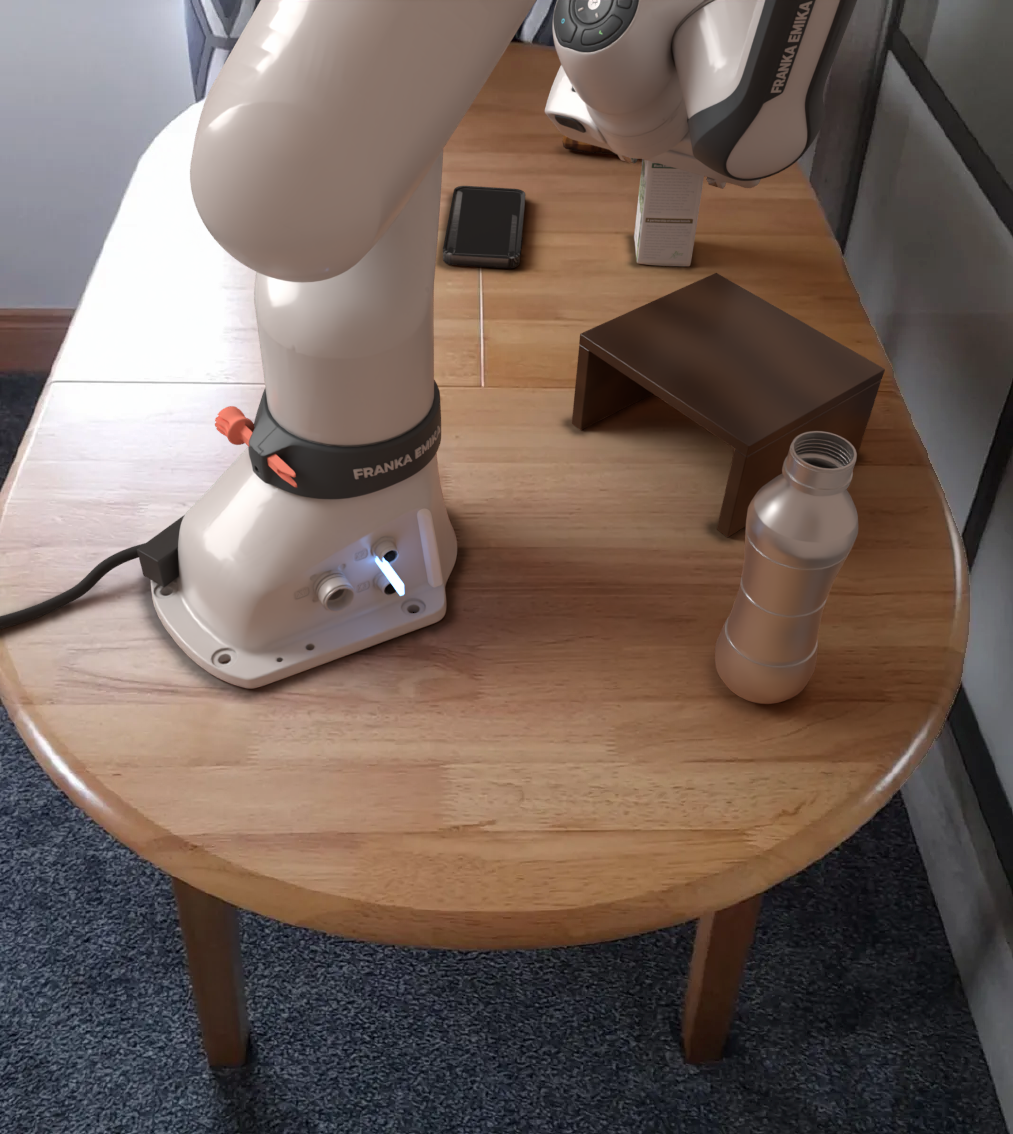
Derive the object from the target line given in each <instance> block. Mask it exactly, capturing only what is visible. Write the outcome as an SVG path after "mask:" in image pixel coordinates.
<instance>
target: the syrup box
mask: <svg viewBox="0 0 1013 1134" xmlns="http://www.w3.org/2000/svg"><path fill="white" fill-rule="evenodd" d="M641 160H642V161H641V171H640V180H639V185H638V186H639V188H638V195H637V196H638V197H637V206H636V213H635V223H634V232H633V242H634V251H635V261H636V264H639V265H649V266H660V267H661V266H663V267H665V266H666V267H690V266H691V265H692V264H691V263H692V257H693V252H694V246H695V239H696V234H697V233H696V232H697V227H698V220H699V213H700V207H701V201H702V193H703V192H702V191H703V185H704V178H705V176H702V175H698V174H695V173H691V172H687V171H684V170H680V169H677V168H673V167H670V166H666V165H662V164H659V163H655V162H652V161H648V160H645V159H641Z"/></svg>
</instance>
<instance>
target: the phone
mask: <svg viewBox="0 0 1013 1134" xmlns="http://www.w3.org/2000/svg"><path fill="white" fill-rule="evenodd" d="M450 203H451V204H450V208H449V214H448V219H447V224H446V230H445V236H444V239H443V240H444V241H443V247H442V261H443V262H444V263H445V264H446V265H450V266H459V267H475V268H477V267H479V268H492V269H514V268H517V267H518V266H519V265H520V261H521V255H522V246H523V240H524V239H523V228H524V217H525V206H526V192H525V191H524V190H522V189H519V188H508V187H492V186H476V185H459V186H456V187H454V189H453V193H452V197H451V202H450Z"/></svg>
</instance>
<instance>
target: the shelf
mask: <svg viewBox="0 0 1013 1134" xmlns="http://www.w3.org/2000/svg"><path fill="white" fill-rule="evenodd" d="M578 344H579V346H578V352H577V353H578V354H577V362H576V363H577V365H576V375H575V383H574V384H575V385H574V396H573V405H572V417H571V424H572V425H573V426H574V427H576V429H579V430H581V431H582V430H584V429H586V428H588V427H590V426H592V425H593V424H596V423H598V422H600V421H602V420H604V419H606V418H608V417H611V415H613V414H617V413H618V412H619V411H622V410H623V409H626V408H628V407H631V406H632V405H633V404H635V403H637V402H640V401H641V400H642V401H643V399H645V398H648V397H650V396H651V395H654V396H656V397H657V398H659V399H660V400H662V402H664V403H666V404H668V405H669V406H670V407H672V408H674V409H675V410H676V411H678V412H679V413H681V414H682V415H684V416H686V417H687V418H688V419H690V420H691V421H692V422H694V423H696V424H697V425H699V426H700V427H702V428H703V429H705V430H706V431H708V432H709V433H711V435H713V436H715V437H717V438H718V439H719V440H721V441H723V442H724V443H725V444H727V445H728V446H730V447H731V448H732V449H734V450H733V454H732V459H731V463H730V464H731V465H730V467H729V473H728V477H727V481H726V486H725V491H724V494H723V500H722V504H721V508H720V513H719V517H718V521H717V526H716V530H717V532H720V533H721V534H722V535H724V536H725V537H727V538H729V537H731V536H733V535H734V534H735V533H737V532H739V531H740V530H742V529H743V528H746V519H747V511H748V507H749V505H750V503H751V501H752V499H753V498H754V496H755V495H756V493H757V492H758V491H759V490H760V489H761V487H763V486H764V485H765V484H767V483H768V482H770V481H771V480H772V479H774V478H775V477H777V476H778V475H780V474H782V467H783V463H784V461H785V458H786V457H787V456H788V452H789V449H790V446H791V443H792V442H793V440H794V439H795V438H796V437H797V436H798V435H800V434H802V433H805V432H810V431H823V432H829V433H833V434H836V435H838V436H841V437H842V438H844V439H846V440H847V441H849V442H850V443H851V444H852V445H853V446H854V448H855V450H856V453H857V457H856V459H857V458H858V455H859V452H860V449H861V446H862V443H863V439H864V436H865V433H866V430H867V427H868V424H869V420H870V418H871V414H872V412H873V409H874V405H875V403H876V400H877V396H878V392H879V389H880V386H881V382H882V380H883V377H884V374H885V371H886V369H885V368H884V367H882V366H881V365H879V364H877V363H876V362H874V361H872V360H870V359H868V358H867V357H865V356H863V355H862V354H859V353H858V352H856V351H854V350H852V349H851V348H849V347H848V346H845V345H844V344H842V343H840V342H839V341H837V340H835V339H833V338H832V337H830V336H828V335H826V334H825V333H823V332H821V331H819V330H818V329H816V328H814V327H812V326H810V325H809V324H807V323H806V322H804V321H802V320H800V319H798V318H796V317H795V316H793V315H791V314H789V313H788V312H786V311H785V310H782V309H781V308H779V307H777V306H776V305H774V304H772V303H771V302H768V301H766V300H765V299H763V298H762V297H760V296H759V295H756V294H755V293H753V292H751V291H749V290H747V289H746V288H744V287H742V286H740V285H739V284H737V283H736V282H733V281H732V280H730V279H728V278H727V277H725V276H723V275H721V274H720V273H717V272H714V273H712V274H710V275H707V276H705V277H703V278H701V279H698V280H697V281H694V282H693V283H690V284H688V285H686V286H683V287H681V288H679V289H677V290H675V291H671V292H670V293H668V294H665V295H663V296H661V297H659V298H656V299H655V300H652V301H650V302H648V303H646V304H643V305H641V306H639V307H637V308H634V309H632V310H630V311H628V312H626V313H623V314H620V315H619V316H617V317H615V318H614V317H613V318H612V319H610V320H608V321H605V322H604V323H601V324H599V325H597V326H595V327H592V328H591V329H588V330H585V331H583V332H581V333H579V343H578Z"/></svg>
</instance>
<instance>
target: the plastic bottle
mask: <svg viewBox="0 0 1013 1134" xmlns="http://www.w3.org/2000/svg"><path fill="white" fill-rule="evenodd" d="M856 457H857V458H858V455H857V453H856V450H855V448H854V446H853V445H852V444H851V443H850V442H849V441H847V440H846V439H844V438H842V437H841V436H838V435H836V434H833V433H829V432H823V431H810V432H805V433H802V434H800V435H798V436H797V437H796V438H795V439H794V440H793V442H792V443H791V446H790V449H789V452H788V456H787V457H786V458H785V461H784V463H783V467H782V474H780V475H778V476H777V477H775V478H774V479H772V480H771V481H770V482H768V483H767V484H765V485H764V486H763V487H761V489H760V490H759V491H758V492H757V493H756V495H755V496H754V498H753V499H752V501H751V503H750V505H749V507H748V511H747V519H746V526H745V532H744V533H745V535H744V558H743V564H742V570H741V576H740V583H739V588H738V591H737V594H736V596H735V599H734V601H733V605H732V607H731V610H730V613H729V615H728V617H726V619H725V622H724V623H723V625H722V627H721V630H720V632H719V635H718V637H717V639H716V641H715V645H714V646H715V647H714V663H715V670H716V672H717V675H718V677H719V678H720V680H721V681H722V682H723V684H724V685H725V686H726V687H727V688H728V689H729V690H730V691H731V692H732V693H733V694H735V695H736V696H737V697H739V698H741V699H743V700H746V701H748V702H751V703H754V704H755V703H756V704H761V705H773V704H779V703H781V702H785V701H789V700H791V699H793V698H794V697H796V696H797V695H799V694H800V693H801V692H803V690H804V689H805V687H806V686H807V685H808V683H809V681H810V680H811V678H812V676H813V675H814V673H815V670H816V668H817V661H818V660H817V659H818V651H819V634H820V633H819V632H820V627H821V623H822V618H823V611H824V608H825V605H826V603H827V600H828V597H829V595H830V592H831V590H832V587H833V585H834V583H835V580H836V579H837V576H838V574H839V573H840V571H841V569H842V567H843V566H844V564H845V562H846V560H847V558H848V556H849V555H850V552H851V551H852V550H853V547H854V544H855V543H856V540H857V537H858V534H859V515H858V512H857V507H856V505H855V502H854V500H853V498H852V496H851V494H850V492H849V491H848V489H849V487H850V485H851V483H852V481H853V477H854V476H853V475H854V472H853V471H854V467H855V465H856V462H857V458H856Z"/></svg>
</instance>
